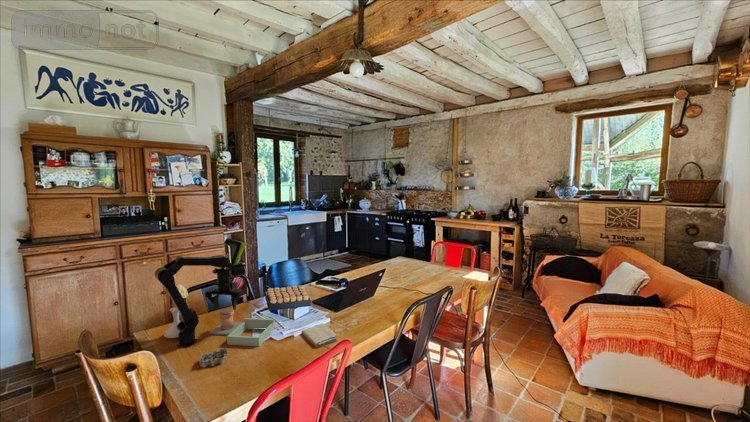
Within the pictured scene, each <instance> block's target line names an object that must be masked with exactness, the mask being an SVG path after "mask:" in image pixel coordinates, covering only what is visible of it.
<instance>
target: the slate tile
mask: <svg viewBox="0 0 750 422" xmlns="http://www.w3.org/2000/svg"><path fill="white" fill-rule="evenodd" d="M233 322H234V327H233V328H231V329H229V330H222V329H221V323H220V324H219V325H217V326H216V327H214V328H213V329H212V330H211V331H209V335H211V336H212V335H214V336H215V335H216V336H228V335H229V334H230V333H232V332H233V331H234V330H235V329H236V328H237V327H239V326H240V325H241V324H242V323H243V322H244V321H242V322H240V321H233Z"/></svg>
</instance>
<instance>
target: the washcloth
mask: <svg viewBox="0 0 750 422" xmlns="http://www.w3.org/2000/svg"><path fill="white" fill-rule="evenodd" d="M301 334H302V335H303V336H304V338H306V339H307V340H308V341H309V342H310V343H311V344H312V345H313V346H314V347H315V349H316V348H318V347H319V348H321V347H324V346H327V345H329V344H332V343H334V342H336V341H338V338H337V334H336V333H335V332H334V330H333V329H331V328H330V327H329V326H327V325H326V324H325V323H319V324H317V325H315V326H312V327H308V328H306V329H302V330H301Z"/></svg>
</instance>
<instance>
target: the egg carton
mask: <svg viewBox="0 0 750 422" xmlns="http://www.w3.org/2000/svg"><path fill="white" fill-rule="evenodd" d="M228 355H229V353H228V347H221V348H219V350H215V351H213V352H212V351H210V352H208V353H205V354H204V353H203V354H201V355H200V356H199V358H198V361H199V367H201V368H203V369H204V368H206V367H208V366H211V367H213V366H215V365H217V364H220V365H222V364H223V365H224V363H227V361H228V360H227V358H228Z"/></svg>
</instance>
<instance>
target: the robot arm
mask: <svg viewBox="0 0 750 422" xmlns="http://www.w3.org/2000/svg"><path fill="white" fill-rule="evenodd" d="M184 266H185V267H186V266H188V267H189V266H193V267H194V266H195V267H196V266H197V267H198V266H199V267H200V266H205V267H206V266H211V267H215V268H214V269H213V270H212V271H211V273H212V274H214V275H216V279H217V282H216V283H215V286H217V288H214V287H213V288H210V289H208V290H206V291H205V292H204V297H205V298H207V299H208V300H209V301H210V302H211V303H212V304H213V305H214V308H215V309H216V310H219V308H220V303H219V301H220V300H219V297H220V296H230V297H231V299H230V301H231V305H232V310H233V311H235V310H236V308H237V305H238V302H239V300H240V298H241V297H243V296H245V290H244V289H242V288H238V282H233V280H232V279H231V277H232V278H233V279H234V278H237V277H242V276H245V275H246V269H245V265H244V263H243V262H238V263H234V264H233V263H231V260H230V258H229V257H227V256H225V255H224V254H216V255H212V256H206V257H205V256H182V255H181V256H177V257H176V258H174V259H173V260H171V261H169V262H168V263H165V265H163V266H160V267H158V268H157V269H156V270H155V271H154V274H153V275H154V277H155V279H156V280H158V282H159V283H160V284H161V285H162V286H163V287H164V288H165V289H166V291H167V294H168V295H169V297H170V298H171V300H172V302H173V304H175V306H176V307H177V309H178V310H179V319H180V320H179V321H180V323H179V324H178V325H177V329H178V330H179V331H180V332H179V334H178V335H179V337H178V344H176V347H183V348H189V347H191V346H192V345H193V344H195V343H196V342H197V341H199V339H198V338H196V334H195V333H196V331H195V330H196V327H198V325H199V323H200V317H199V316H198V314H197V312H196V311H197V310H195V309H194V308H193V307H191V308H189V305H187V303H186V301H185V298H183V297H182V296H181V294H180V292H179V290H178V289H177V286H176V282H175V281H176V280H175V277H174V276H175V275H176V274H177V273H178V272H180V270H181V268H183V267H184ZM234 289H235V290H234Z"/></svg>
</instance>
